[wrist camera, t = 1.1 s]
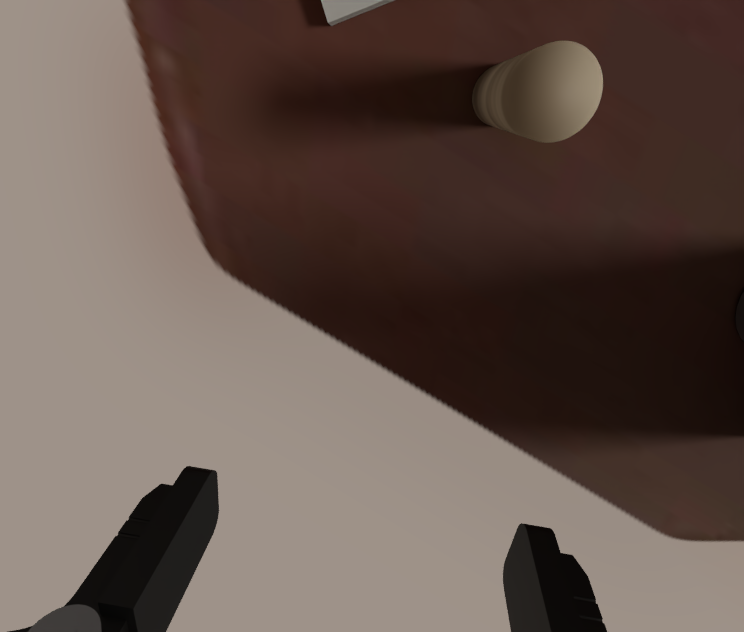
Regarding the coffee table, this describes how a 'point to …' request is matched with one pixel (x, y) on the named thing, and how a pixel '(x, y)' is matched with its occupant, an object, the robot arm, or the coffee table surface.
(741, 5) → the coffee table surface
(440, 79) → the coffee table surface
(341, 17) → the socket
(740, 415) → the coffee table surface
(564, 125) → the peg
